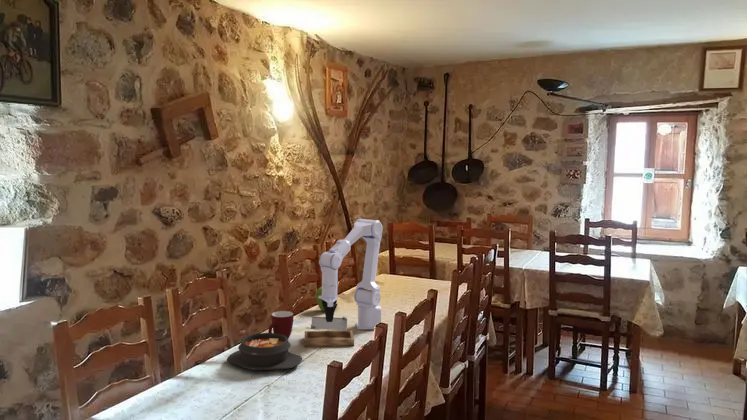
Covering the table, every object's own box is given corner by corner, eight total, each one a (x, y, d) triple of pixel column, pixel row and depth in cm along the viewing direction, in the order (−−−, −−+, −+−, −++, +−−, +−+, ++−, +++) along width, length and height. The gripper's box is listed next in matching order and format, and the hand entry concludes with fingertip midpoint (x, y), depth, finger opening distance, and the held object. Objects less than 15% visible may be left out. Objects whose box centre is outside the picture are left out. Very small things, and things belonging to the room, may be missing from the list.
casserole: (216, 371, 171) (216, 345, 170) (242, 350, 189) (242, 327, 188) (290, 379, 165) (290, 353, 165) (309, 357, 184) (310, 334, 183)
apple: (322, 315, 233) (323, 289, 232) (311, 310, 239) (312, 285, 238) (338, 311, 239) (339, 286, 238) (327, 307, 245) (327, 282, 244)
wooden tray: (351, 336, 206) (351, 330, 205) (354, 346, 196) (354, 339, 196) (304, 337, 203) (304, 331, 203) (304, 347, 194) (304, 340, 193)
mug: (279, 347, 193) (279, 320, 192) (262, 343, 197) (262, 316, 196) (297, 339, 202) (297, 313, 201) (280, 335, 206) (281, 309, 205)
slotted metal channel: (346, 328, 201) (346, 316, 201) (346, 330, 199) (347, 318, 198) (310, 327, 199) (311, 315, 199) (310, 328, 197) (311, 317, 197)
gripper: (318, 280, 204) (318, 314, 205) (319, 289, 190) (318, 326, 191) (336, 280, 205) (336, 314, 206) (339, 289, 191) (338, 326, 192)
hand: (329, 320), depth 199 cm, fingers closed on slotted metal channel, 2 cm apart
